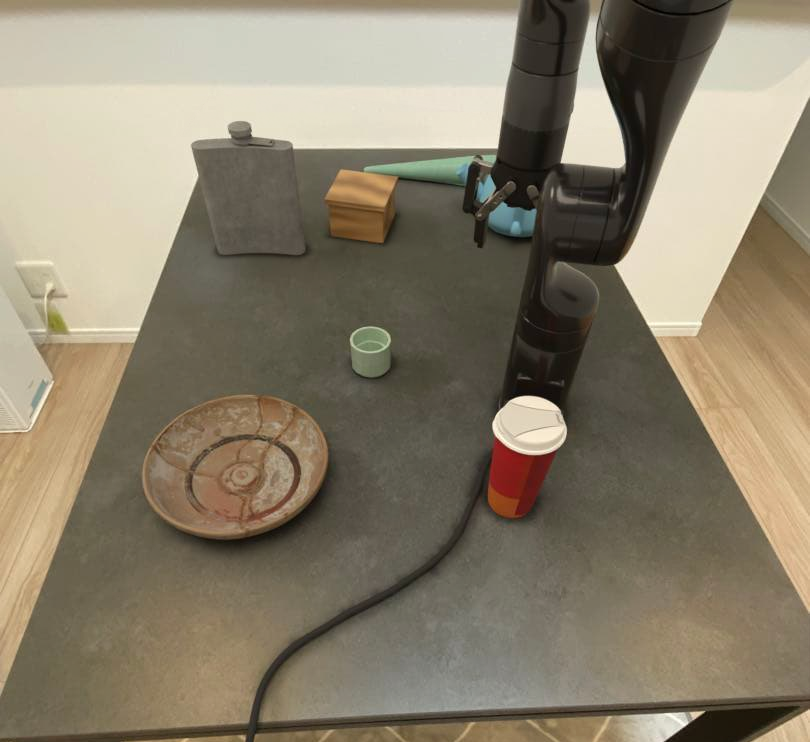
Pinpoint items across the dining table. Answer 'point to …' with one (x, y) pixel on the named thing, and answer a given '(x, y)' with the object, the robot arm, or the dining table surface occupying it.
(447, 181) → the mint green cone
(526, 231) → the teapot
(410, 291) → the dining table surface
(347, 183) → the riser
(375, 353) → the pale green cup
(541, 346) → the robot arm
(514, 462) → the coffee cup
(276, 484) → the ceramic bowl
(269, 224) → the hip flask
